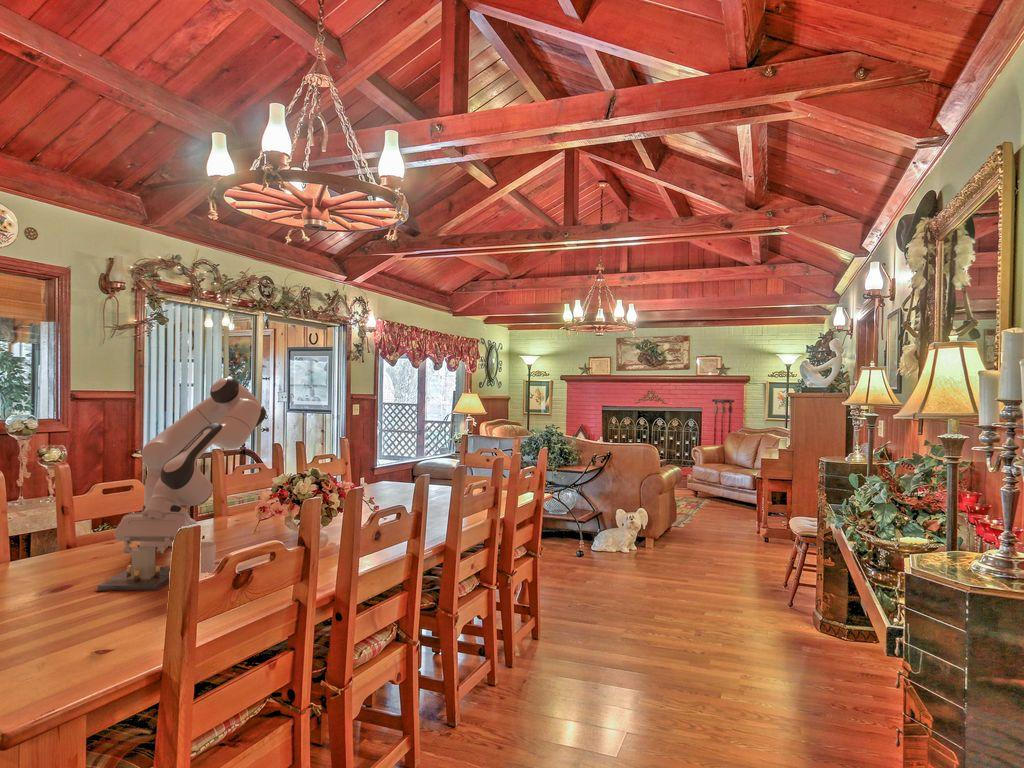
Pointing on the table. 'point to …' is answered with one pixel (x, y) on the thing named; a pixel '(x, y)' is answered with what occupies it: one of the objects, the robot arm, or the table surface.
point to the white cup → (207, 556)
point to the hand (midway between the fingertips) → (143, 552)
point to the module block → (143, 561)
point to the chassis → (137, 580)
